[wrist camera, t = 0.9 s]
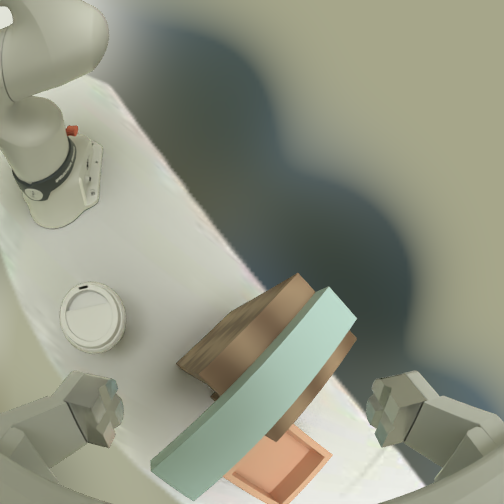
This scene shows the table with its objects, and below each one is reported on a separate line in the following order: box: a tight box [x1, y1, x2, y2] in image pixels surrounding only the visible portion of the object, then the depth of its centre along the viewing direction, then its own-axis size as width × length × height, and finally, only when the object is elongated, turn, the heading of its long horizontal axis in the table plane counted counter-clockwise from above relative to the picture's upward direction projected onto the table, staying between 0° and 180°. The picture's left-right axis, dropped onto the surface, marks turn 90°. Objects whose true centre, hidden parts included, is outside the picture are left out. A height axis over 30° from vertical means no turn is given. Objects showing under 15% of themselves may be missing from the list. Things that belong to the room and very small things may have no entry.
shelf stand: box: [176, 273, 357, 442], centre depth 37 cm, size 14×10×26 cm
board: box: [151, 287, 357, 501], centre depth 22 cm, size 23×4×2 cm, turn 136°
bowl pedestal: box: [223, 424, 332, 504], centre depth 37 cm, size 12×12×16 cm
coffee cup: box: [60, 282, 126, 354], centre depth 36 cm, size 10×10×15 cm
